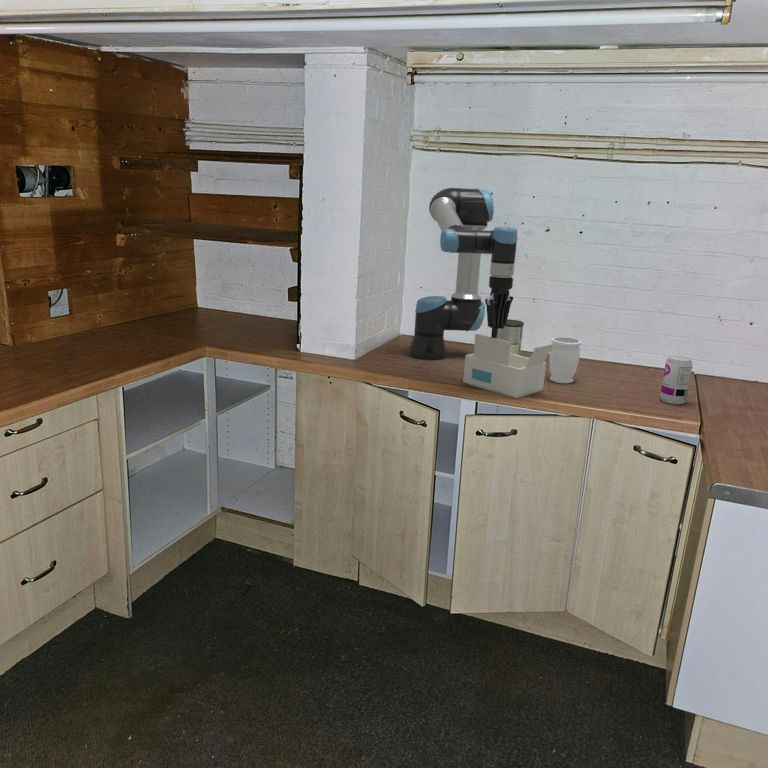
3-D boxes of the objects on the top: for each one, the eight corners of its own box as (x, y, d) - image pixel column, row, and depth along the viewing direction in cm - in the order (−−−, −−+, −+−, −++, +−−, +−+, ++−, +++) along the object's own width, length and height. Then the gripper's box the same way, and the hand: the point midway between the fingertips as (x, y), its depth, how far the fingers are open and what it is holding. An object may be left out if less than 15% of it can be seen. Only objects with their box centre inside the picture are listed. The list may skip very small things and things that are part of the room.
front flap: (474, 356, 236) (473, 357, 235) (476, 333, 233) (475, 334, 233) (509, 365, 226) (507, 365, 226) (510, 341, 224) (509, 342, 224)
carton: (461, 383, 242) (464, 355, 239) (490, 375, 253) (492, 348, 251) (515, 399, 227) (519, 369, 224) (543, 390, 238) (547, 362, 236)
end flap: (535, 346, 222) (537, 347, 221) (552, 342, 229) (553, 343, 228) (525, 366, 226) (526, 368, 226) (541, 362, 233) (543, 363, 233)
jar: (554, 375, 259) (559, 335, 255) (580, 380, 253) (586, 340, 248) (541, 380, 251) (546, 339, 247) (568, 386, 245) (573, 344, 240)
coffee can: (490, 352, 288) (493, 319, 284) (512, 352, 291) (516, 319, 287) (502, 359, 278) (505, 324, 274) (524, 358, 282) (528, 324, 278)
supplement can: (659, 403, 231) (667, 359, 227) (659, 396, 238) (666, 354, 234) (685, 406, 228) (693, 362, 224) (685, 400, 236) (692, 357, 231)
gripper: (499, 278, 217) (493, 352, 224) (522, 276, 226) (515, 347, 232) (480, 275, 222) (474, 347, 229) (503, 273, 231) (496, 342, 237)
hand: (494, 347), depth 230 cm, fingers closed
